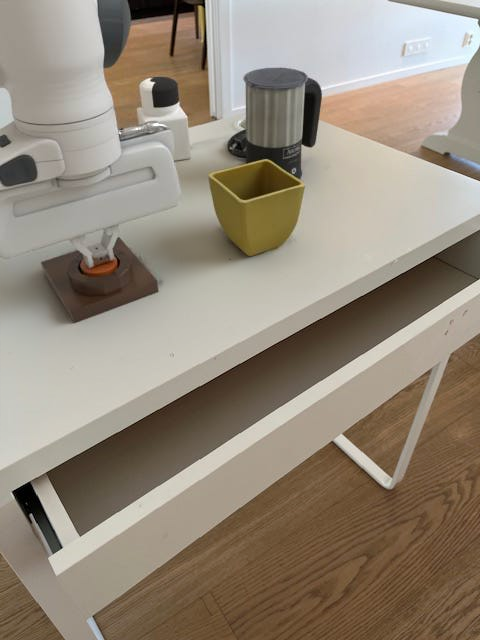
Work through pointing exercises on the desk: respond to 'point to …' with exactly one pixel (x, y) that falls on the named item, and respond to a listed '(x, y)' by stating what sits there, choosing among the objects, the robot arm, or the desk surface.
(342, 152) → the desk surface
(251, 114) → the milk frother
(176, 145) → the medicine bottle
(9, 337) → the desk surface
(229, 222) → the flower pot
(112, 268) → the button
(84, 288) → the button base
